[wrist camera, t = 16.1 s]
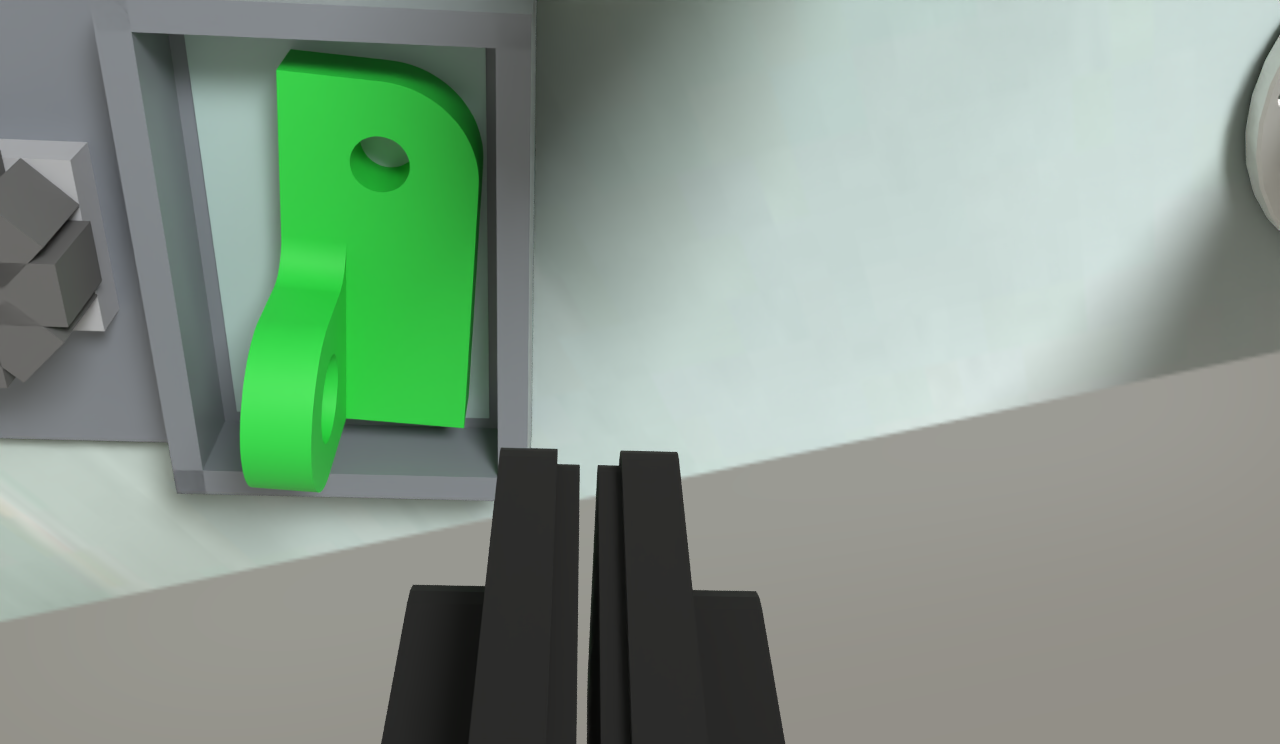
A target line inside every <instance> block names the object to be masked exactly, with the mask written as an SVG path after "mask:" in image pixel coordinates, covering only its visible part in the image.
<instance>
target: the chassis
mask: <svg viewBox="0 0 1280 744" xmlns="http://www.w3.org/2000/svg"><path fill="white" fill-rule="evenodd" d="M536 14H537V0H0V150H1V155H2V159H3V163H4V168H5V172H6V171H7V170H8V169H9V168H10V167H11V166H12V165H13V164H14V163H15V162H17V161H18V160H19V159H20V158H21V159H23V160H24V161H25V162H26V163H28V164H29V165H30V166H32V167H33V168H34V169H35V170H37V171H38V172H39V173H40V174H42V175H43V176H44V177H45V178H47V179H48V180H49V181H50V182H52V183H53V184H54V185H56V186H57V187H58V188H59V189H61V190H62V191H63V192H64V193H66V194H67V195H68V196H69V197H71V198H72V199H73V200H74V201H76V202H77V203H78V204H79V206H78V208H77V209H76V210H75V211H74V212H73V213H72V214H71V216H70V217H69V218H68V219H67V220H76V221H91V227H92V232H93V237H94V242H95V247H96V252H97V257H98V262H99V267H100V272H101V277H102V282H101V283H100V285H99V286H98V287H97V289H96V290H95V291H94V293H95V294H97V295H98V296H97V298H96V299H95V300H94V302H93V303H92V304H91V306H90V307H89V309H88V310H87V311H86V313H85V314H84V316H83V317H82V318H81V320H80V321H79V323H78V324H77V325H76V327H75V328H74V330H73V331H72V332H71V334H70V335H69V336H68V338H67V339H66V341H65V342H64V343H63V344H62V345H61V346H60V347H59V348H58V349H57V350H56V351H55V352H54V353H53V354H52V355H51V356H50V357H49V358H48V359H47V360H46V361H45V362H44V363H43V364H42V365H41V366H40V367H39V368H38V369H37V370H36V371H35V372H34V373H33V374H32V375H31V376H30V377H29V378H28V379H27V380H26V381H25V382H22V381H21V380H19V379H18V378H17V377H15V379H14V380H13V381H12V383H11V384H10V385H9V387H8V388H0V438H19V439H58V440H97V441H137V442H168V446H169V451H170V457H171V462H172V468H173V474H174V479H175V485H176V490H177V493H181V494H225V495H268V496H312V497H355V498H399V499H442V500H486V501H494V500H495V491H496V482H497V473H498V463H499V455H500V449H501V448H531V437H532V357H533V271H534V186H535V100H536ZM290 49H293V50H302V51H311V52H320V53H329V54H339V55H348V56H357V57H366V58H375V59H384V60H392V61H398V62H403V63H407V64H410V65H413V66H416V67H419V68H421V69H423V70H425V71H427V72H429V73H431V74H433V75H435V76H436V77H438V78H439V79H441V80H442V81H443V82H445V83H446V84H447V85H449V86H450V87H451V88H452V89H453V90H454V91H455V92H456V93H457V94H458V95H459V96H460V97H461V99H462V100H463V101H464V102H465V104H466V105H467V107H468V108H469V110H470V111H471V113H472V115H473V117H474V119H475V121H476V123H477V126H478V129H479V132H480V135H481V139H482V144H483V177H482V193H481V208H480V224H479V240H478V256H477V272H476V288H475V304H474V320H473V336H472V352H471V368H470V384H469V398H468V405H467V411H466V418H465V424H464V428H456V427H444V426H432V425H420V424H408V423H396V422H384V421H372V420H360V419H348V418H346V421H345V424H344V427H343V431H342V434H341V437H340V441H339V444H338V447H337V451H336V454H335V457H334V461H333V464H332V467H331V470H330V474H329V477H328V480H327V483H326V485H325V487H324V489H323V490H322V491H321V492H320V493H318V492H305V491H293V490H280V489H267V488H254V487H250V486H248V484H247V483H246V481H245V478H244V474H243V470H242V464H241V454H240V416H241V402H242V392H243V383H244V376H245V370H246V364H247V359H248V354H249V350H250V345H251V341H252V338H253V334H254V331H255V328H256V325H257V323H258V321H259V318H260V316H261V314H262V312H263V310H264V308H265V306H266V303H267V301H268V299H269V297H270V295H271V293H272V291H273V288H274V286H275V283H276V280H277V276H278V271H279V265H280V256H281V214H280V181H279V148H278V115H277V82H276V69H277V68H278V67H279V65H280V64H281V62H282V61H283V59H284V58H285V56H286V55H287V53H288V52H289V50H290ZM360 142H361V146H362V149H363V151H364V152H365V154H366V155H367V156H368V157H369V158H370V159H371V160H372V161H373V162H375V163H377V164H379V165H381V166H385V167H398V166H402V165H404V164H406V163H407V162H409V159H408V156H407V154H406V152H405V151H404V149H403V148H402V147H401V146H400V145H399V144H397V143H396V142H394V141H393V140H391V139H388V138H385V137H378V136H375V137H369V138H366V139H364V140H362V141H360Z"/></svg>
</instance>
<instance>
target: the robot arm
mask: <svg viewBox="0 0 1280 744" xmlns="http://www.w3.org/2000/svg"><path fill="white" fill-rule="evenodd" d="M1245 138H1246V166H1247V169H1248V173H1249V177H1250V181H1251V185H1252V189H1253V193H1254V195H1255V197H1256V199H1257V200H1258V202H1259V204H1260V206H1261V208H1262V210H1263V212H1264V213H1265V215H1266V217H1267V219H1268V220H1269V221H1270V222H1271V223H1272V224H1273V225H1274V226H1275V227H1276V228H1277V229H1278V230H1279V231H1280V35H1279V37H1278V39H1277V41H1276V42H1275V44H1274V46H1273V48H1272V49H1271V51H1270V53H1269V55H1268V56H1267V58H1266V60H1265V62H1264V65H1263V68H1262V70H1261V73H1260V76H1259V78H1258V81H1257V84H1256V86H1255V89H1254V91H1253V94H1252V98H1251V103H1250V108H1249V114H1248V119H1247V125H1246V130H1245ZM557 452H558V450H557V449H538V448H501V449H500V455H499V463H498V473H497V482H496V491H495V500H494V510H493V519H492V529H491V538H490V547H489V556H488V565H487V575H486V584H485V586H445V585H443V586H442V585H413V586H412V588H411V590H410V594H409V598H408V602H407V608H406V612H405V618H404V623H403V629H402V634H401V640H400V645H399V650H398V656H397V661H396V667H395V672H394V677H393V683H392V689H391V694H390V700H389V705H388V711H387V715H386V721H385V726H384V732H383V738H382V743H381V744H576V724H577V722H576V720H577V719H576V718H577V641H578V639H577V638H578V560H579V482H580V465H568V464H557ZM594 532H595V533H594V553H593V574H592V575H593V576H592V595H591V596H592V597H591V617H590V638H589V660H588V689H587V691H588V692H587V744H785V740H784V734H783V728H782V723H781V717H780V711H779V705H778V700H777V693H776V688H775V682H774V676H773V670H772V664H771V659H770V653H769V647H768V641H767V635H766V629H765V624H764V618H763V613H762V607H761V603H760V599H759V596H758V594H757V593H756V591H708V590H692V581H691V572H690V563H689V552H688V543H687V534H686V523H685V514H684V504H683V495H682V485H681V475H680V466H679V458H678V453H677V452H654V451H621V452H620V459H619V466H608V465H598V470H597V488H596V510H595V531H594Z"/></svg>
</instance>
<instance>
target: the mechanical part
mask: <svg viewBox="0 0 1280 744" xmlns="http://www.w3.org/2000/svg"><path fill="white" fill-rule="evenodd" d="M276 82H277V115H278V148H279V181H280V214H281V256H280V265H279V271H278V276H277V280H276V283H275V286H274V288H273V291H272V293H271V295H270V297H269V299H268V301H267V303H266V306H265V308H264V310H263V312H262V314H261V316H260V318H259V321H258V323H257V325H256V328H255V331H254V334H253V338H252V341H251V345H250V350H249V354H248V359H247V364H246V370H245V376H244V383H243V392H242V402H241V416H240V454H241V464H242V470H243V474H244V478H245V481H246V483H247V484H248V486H250V487H254V488H267V489H280V490H293V491H305V492H318V493H320V492H321V491H322V490H323V489H324V487H325V485H326V483H327V480H328V477H329V474H330V470H331V467H332V464H333V461H334V457H335V454H336V451H337V447H338V444H339V441H340V437H341V434H342V431H343V427H344V424H345V421H346V418H348V419H360V420H372V421H384V422H396V423H408V424H420V425H432V426H444V427H456V428H464V424H465V418H466V411H467V405H468V398H469V384H470V368H471V352H472V336H473V320H474V304H475V288H476V272H477V256H478V240H479V224H480V208H481V193H482V177H483V144H482V139H481V135H480V132H479V129H478V126H477V123H476V121H475V119H474V117H473V115H472V113H471V111H470V110H469V108H468V107H467V105H466V104H465V102H464V101H463V100H462V99H461V97H460V96H459V95H458V94H457V93H456V92H455V91H454V90H453V89H452V88H451V87H450V86H449V85H447V84H446V83H445V82H443V81H442V80H441V79H439V78H438V77H436V76H435V75H433V74H431V73H429V72H427V71H425V70H423V69H421V68H419V67H416V66H413V65H410V64H407V63H403V62H398V61H392V60H384V59H375V58H366V57H357V56H348V55H339V54H329V53H320V52H311V51H302V50H293V49H290V50H289V52H288V53H287V55H286V56H285V58H284V59H283V61H282V62H281V64H280V65H279V67H278V68H277V69H276ZM375 136H378V137H385V138H388V139H391V140H393V141H394V142H396V143H397V144H399V145H400V146H401V147H402V148H403V149H404V151H405V152H406V154H407V156H408V159H409V162H407V163H406V164H404V165H402V166H398V167H385V166H381V165H379V164H377V163H375V162H373V161H372V160H371V159H370V158H369V157H368V156H367V155H366V154H365V152H364V151H363V149H362V146H361V142H360V141H362V140H364V139H366V138H369V137H375Z"/></svg>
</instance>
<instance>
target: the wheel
mask: <svg viewBox="0 0 1280 744" xmlns="http://www.w3.org/2000/svg"><path fill="white" fill-rule="evenodd" d="M78 206H79V204H78V203H77V202H76V201H74V200H73V199H72V198H71V197H69V196H68V195H67V194H66V193H64V192H63V191H62V190H61V189H59V188H58V187H57V186H56V185H54V184H53V183H52V182H50V181H49V180H48V179H47V178H45V177H44V176H43V175H42V174H40V173H39V172H38V171H37V170H35V169H34V168H33V167H32V166H30V165H29V164H28V163H26V162H25V161H24V160H23V159H21V158H20V159H19V160H18V161H17V162H15V163H14V164H13V165H12V166H11V167H10V168H9V169H8V170H7V171H6V172H5V168H4V163H3V159H2V155H1V150H0V388H8V387H9V385H10V384H11V383H12V381H13V380H14V379H15V377H17V378H18V379H19V380H21V381H22V382H25V381H26V380H27V379H28V378H29V377H30V376H31V375H32V374H33V373H34V372H35V371H36V370H37V369H38V368H39V367H40V366H41V365H42V364H43V363H44V362H45V361H46V360H47V359H48V358H49V357H50V356H51V355H52V354H53V353H54V352H55V351H56V350H57V349H58V348H59V347H60V346H61V345H62V344H63V343H64V342H65V341H66V339H67V338H68V336H69V335H70V334H71V332H72V331H73V330H74V328H75V327H76V325H77V324H78V323H79V321H80V320H81V318H82V317H83V316H84V314H85V313H86V311H87V310H88V309H89V307H90V306H91V304H92V303H93V302H94V300H95V299H96V298H97V296H98V295H97V294H95V293H94V291H95V290H96V289H97V287H98V286H99V285H100V283H101V282H102V277H101V272H100V267H99V262H98V257H97V252H96V247H95V242H94V237H93V232H92V227H91V221H76V220H67V219H68V218H69V217H70V216H71V214H72V213H73V212H74V211H75V210H76V209H77V208H78Z"/></svg>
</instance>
